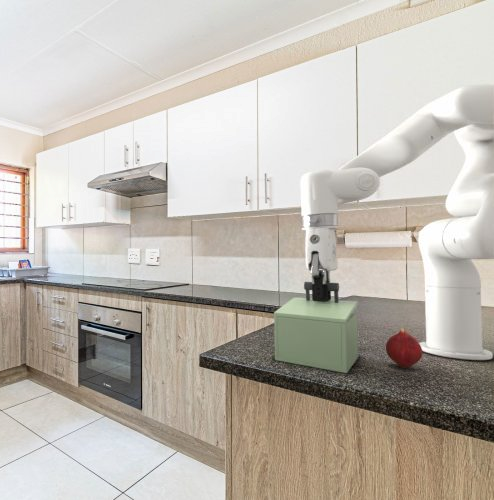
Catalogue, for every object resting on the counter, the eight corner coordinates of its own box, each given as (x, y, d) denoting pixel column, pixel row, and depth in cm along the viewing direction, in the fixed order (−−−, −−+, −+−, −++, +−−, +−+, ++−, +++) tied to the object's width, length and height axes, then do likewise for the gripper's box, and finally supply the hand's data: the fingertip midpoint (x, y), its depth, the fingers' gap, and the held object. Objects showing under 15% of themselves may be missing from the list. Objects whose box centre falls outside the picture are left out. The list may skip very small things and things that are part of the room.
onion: (429, 373, 68) (428, 332, 68) (396, 371, 69) (395, 331, 69) (411, 364, 73) (410, 326, 74) (380, 363, 75) (379, 325, 75)
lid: (294, 300, 89) (292, 279, 89) (357, 304, 80) (356, 281, 79) (274, 315, 78) (272, 292, 77) (345, 323, 68) (344, 296, 68)
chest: (294, 347, 88) (293, 308, 88) (358, 356, 79) (357, 313, 79) (274, 360, 77) (274, 316, 78) (346, 373, 68) (345, 323, 68)
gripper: (330, 219, 74) (332, 305, 74) (344, 224, 86) (346, 298, 86) (292, 222, 79) (294, 303, 79) (310, 226, 91) (312, 296, 91)
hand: (321, 300), depth 82 cm, fingers closed on lid, 2 cm apart
